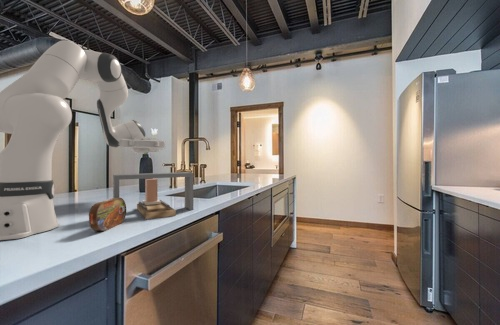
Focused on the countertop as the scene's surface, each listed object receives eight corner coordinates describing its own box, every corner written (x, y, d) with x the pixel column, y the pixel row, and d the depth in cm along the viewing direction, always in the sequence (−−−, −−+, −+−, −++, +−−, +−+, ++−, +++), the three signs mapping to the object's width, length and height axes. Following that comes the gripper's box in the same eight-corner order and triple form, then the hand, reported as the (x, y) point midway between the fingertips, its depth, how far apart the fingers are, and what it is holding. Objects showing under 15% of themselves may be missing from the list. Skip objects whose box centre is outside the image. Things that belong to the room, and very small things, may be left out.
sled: (145, 205, 94) (144, 180, 94) (142, 202, 100) (142, 178, 100) (160, 203, 97) (160, 179, 97) (157, 201, 103) (157, 178, 103)
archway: (114, 219, 82) (114, 175, 81) (113, 215, 87) (113, 174, 87) (193, 209, 97) (193, 172, 97) (188, 207, 102) (188, 172, 102)
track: (146, 219, 81) (146, 211, 81) (137, 208, 99) (136, 201, 99) (175, 215, 86) (175, 207, 86) (161, 206, 104) (161, 199, 104)
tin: (97, 234, 64) (97, 204, 64) (86, 234, 65) (86, 204, 64) (127, 220, 80) (127, 195, 79) (118, 220, 80) (118, 195, 80)
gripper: (117, 137, 115) (120, 135, 103) (161, 139, 126) (168, 137, 114) (117, 150, 115) (120, 149, 103) (161, 151, 126) (168, 150, 114)
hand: (145, 143), depth 109 cm, fingers open, 8 cm apart
